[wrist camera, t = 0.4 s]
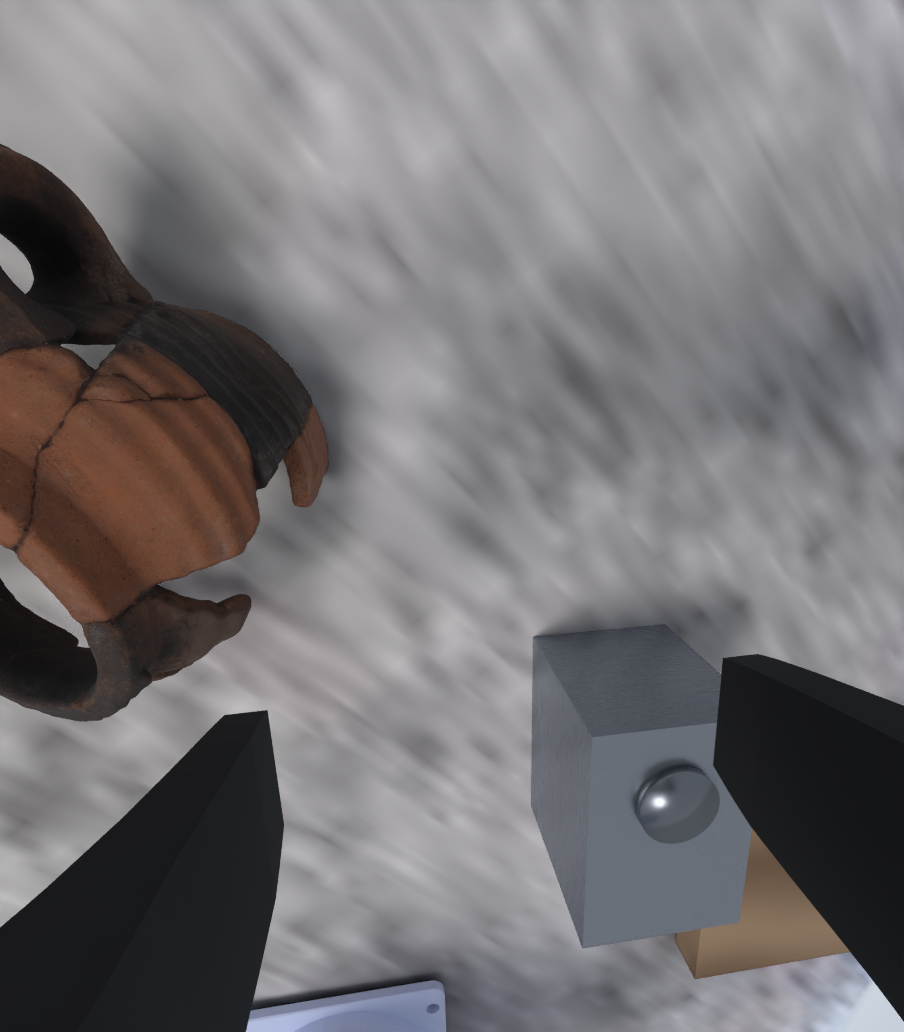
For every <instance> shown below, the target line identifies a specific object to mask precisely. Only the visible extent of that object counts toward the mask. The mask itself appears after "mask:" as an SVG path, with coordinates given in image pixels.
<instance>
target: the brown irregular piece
mask: <svg viewBox="0 0 904 1032" xmlns="http://www.w3.org/2000/svg"><path fill="white" fill-rule="evenodd" d="M0 234H2V235H3V236H4V237H5V238H7V239H8V240H9V241H10V242H12V243H13V244H14V245H15V246H16V247H17V248H18V249H19V250H20V251H21V252H22V253H23V254H24V255H25V257H26V258H27V260H28V261H29V263H30V265H31V269H32V272H33V276H34V282H33V285H32V287H31V289H30V290H29V291H28V292H27V293H26V294H24V293H23V292H22V291H21V290H20V289H19V288H18V287H17V286H16V285H15V284H14V283H13V282H12V281H11V279H10V278H9V277H8V276H7V274H6V273H5V272H4V271H3V269H2V268H1V266H0V545H2V546H4V547H6V548H8V549H11V550H13V551H14V552H15V553H16V554H17V556H18V559H19V560H20V561H21V563H22V564H23V565H24V566H26V567H27V568H28V569H29V570H30V571H31V572H32V573H33V574H34V575H36V576H37V577H38V578H39V579H40V580H41V581H42V582H43V584H44V585H45V586H46V587H47V588H48V589H49V590H50V591H51V592H52V593H53V594H54V595H55V596H56V598H57V599H58V600H59V601H60V602H61V603H62V604H63V605H64V607H65V608H66V609H67V610H68V611H69V613H70V615H71V616H72V617H73V618H74V619H75V620H76V621H77V622H79V623H80V624H81V625H82V628H83V631H84V635H85V637H86V639H87V642H88V645H89V647H90V648H83V647H79V646H77V645H78V641H79V640H78V639H77V638H76V637H75V636H74V635H72V634H71V633H69V632H67V631H66V630H65V629H63V628H60V627H58V626H56V625H54V624H52V623H50V622H49V621H47V620H45V619H43V618H41V617H39V616H38V615H36V614H34V613H33V612H32V611H31V610H29V609H28V608H26V607H24V606H23V605H21V604H20V603H19V602H18V601H17V600H16V599H15V597H14V596H13V594H12V593H11V592H10V591H9V590H8V589H7V588H6V587H5V585H4V583H3V581H2V580H1V579H0V695H1V696H3V697H5V698H7V699H9V700H11V701H13V702H16V703H18V704H20V705H21V706H23V707H26V708H29V709H34V710H38V711H40V712H43V713H45V714H49V715H51V716H54V717H60V718H65V719H71V720H75V721H86V722H87V721H94V720H95V721H99V720H102V719H103V718H106V717H109V716H111V715H113V714H114V713H116V712H117V711H119V710H120V709H122V708H124V707H126V706H127V705H128V703H129V701H130V699H132V698H134V697H136V696H137V695H138V694H139V693H140V691H141V690H142V689H144V688H145V687H147V686H148V685H149V684H151V683H152V681H157V680H161V679H163V678H165V677H168V676H172V675H174V674H176V673H178V672H179V671H180V670H181V669H182V668H185V667H187V666H190V665H192V664H193V663H194V662H195V661H197V660H199V659H200V658H202V657H203V656H204V655H206V654H207V653H208V652H209V651H210V650H211V649H212V648H213V647H214V646H215V645H217V644H219V643H220V642H222V641H224V640H227V639H229V638H231V637H233V636H234V635H236V634H237V633H238V632H239V631H240V630H241V628H242V626H243V624H244V622H245V620H246V617H247V615H248V613H249V611H250V608H251V598H250V597H249V596H248V595H244V594H238V595H235V596H232V597H230V598H227V599H225V600H223V601H221V602H219V603H215V602H213V601H210V600H197V599H193V598H189V597H184V596H181V595H178V594H177V593H175V592H173V591H171V590H167V589H165V588H163V587H161V586H159V585H157V584H159V583H161V582H163V581H167V580H174V579H178V578H182V577H185V576H187V575H188V574H190V573H191V572H194V571H196V570H201V569H205V568H208V567H210V566H213V565H215V564H218V563H220V562H222V561H225V560H228V559H231V558H233V557H235V556H237V555H240V554H241V553H243V552H244V550H245V548H246V545H247V543H248V542H249V541H250V540H251V538H252V537H253V535H254V534H255V531H256V529H257V526H258V524H259V521H260V514H259V508H258V500H257V497H256V491H257V490H258V489H262V488H265V487H266V486H267V484H268V482H269V481H270V479H271V478H272V477H273V475H274V474H275V472H276V470H277V469H278V464H279V463H280V462H281V460H282V459H283V460H284V463H285V465H286V467H287V472H288V476H289V480H290V487H291V492H292V500H293V503H294V505H296V506H298V507H308V506H310V505H311V504H312V503H313V501H314V500H315V498H316V496H317V494H318V491H319V488H320V485H321V483H322V478H323V476H324V474H325V473H326V471H327V468H328V448H327V442H326V438H325V433H324V429H323V426H322V423H321V421H320V418H319V416H318V413H317V411H316V409H315V407H314V405H313V404H312V400H311V397H310V395H309V393H308V392H307V390H306V389H305V387H304V385H303V384H302V382H301V381H300V380H299V379H298V377H297V376H296V374H295V373H294V371H293V369H292V368H291V367H290V365H289V364H288V363H287V362H286V361H285V360H284V359H283V358H281V357H280V356H279V354H277V353H276V352H275V351H274V350H273V349H272V348H271V346H270V345H269V344H267V343H266V342H265V341H264V340H262V339H261V338H260V337H259V336H257V335H256V334H255V333H253V332H252V331H250V330H248V329H247V328H245V327H243V326H241V325H238V324H236V323H233V322H232V321H230V320H227V319H225V318H223V317H220V316H217V315H215V314H212V313H209V312H206V311H202V310H190V309H187V308H183V307H179V306H175V305H167V304H165V303H163V302H159V301H153V299H152V296H151V294H150V293H149V292H148V291H147V290H146V289H145V288H144V287H142V286H141V285H140V284H139V283H138V282H137V281H136V280H135V279H134V277H133V276H132V275H131V274H130V273H129V271H128V270H127V268H126V267H125V265H124V264H123V263H122V261H121V259H120V257H119V256H118V254H117V253H116V251H115V250H114V248H113V247H112V245H111V243H110V242H109V240H108V238H107V236H106V235H105V233H104V231H103V229H102V228H101V227H100V225H99V224H98V222H97V221H96V220H95V218H94V217H93V215H92V214H91V213H90V211H89V210H88V209H87V208H86V206H85V205H84V204H83V203H82V201H81V200H80V199H79V198H78V196H77V195H76V194H75V193H74V192H73V191H72V190H71V189H70V188H69V187H68V186H67V185H65V184H64V183H63V182H62V181H61V180H60V179H59V178H58V177H56V176H55V175H54V174H53V173H52V172H50V171H49V170H48V169H46V168H45V167H44V166H42V165H41V164H39V163H37V162H36V161H34V160H32V159H30V158H28V157H26V156H24V155H22V154H19V153H17V152H15V151H13V150H11V149H10V148H9V147H6V146H4V145H1V144H0ZM61 344H78V345H110V344H116V346H115V348H114V349H113V351H111V352H110V353H109V355H108V356H107V357H106V359H104V360H103V361H102V362H101V363H100V365H99V367H98V369H96V370H94V369H93V368H91V367H90V366H88V365H87V363H86V362H85V361H84V360H83V359H82V358H80V357H79V356H78V355H77V354H75V353H74V352H73V351H71V350H69V349H66V348H63V347H62V346H60V345H61Z"/></svg>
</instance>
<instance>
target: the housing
mask: <svg viewBox="0 0 904 1032" xmlns="http://www.w3.org/2000/svg"><path fill="white" fill-rule="evenodd" d="M720 685H721V674H720V673H719V672H718V671H716V670H715V669H714V668H713V667H712V666H711V665H710V664H709V663H708V662H706V661H705V660H704V659H703V658H702V657H701V656H700V655H699V654H697V653H696V652H695V651H694V650H693V649H692V648H691V647H690V646H689V645H687V644H686V643H685V642H684V641H683V640H682V639H681V638H680V637H679V636H677V635H676V634H675V633H674V632H673V631H672V630H671V629H670V628H668V627H667V626H666V625H656V626H645V627H634V628H623V629H613V630H602V631H591V632H580V633H570V634H559V635H548V636H537V637H533V684H532V773H531V807H532V810H533V812H534V815H535V818H536V821H537V823H538V826H539V829H540V832H541V835H542V837H543V840H544V843H545V846H546V848H547V851H548V854H549V857H550V860H551V862H552V865H553V868H554V871H555V873H556V876H557V879H558V882H559V884H560V887H561V890H562V893H563V896H564V898H565V901H566V904H567V907H568V909H569V912H570V915H571V918H572V921H573V923H574V926H575V929H576V932H577V934H578V937H579V940H580V943H581V945H582V948H588V947H594V946H600V945H606V944H612V943H618V942H624V941H630V940H637V939H643V938H649V937H655V936H661V935H667V934H673V933H679V932H685V931H691V930H697V929H703V928H709V927H715V926H721V925H727V924H733V923H739V919H740V912H741V905H742V898H743V890H744V883H745V876H746V869H747V862H748V855H749V848H750V841H751V833H752V828H751V826H750V825H749V823H748V822H747V820H746V819H745V817H744V816H743V814H742V812H741V811H740V809H739V808H738V806H737V805H736V803H735V802H734V800H733V798H732V797H731V795H730V793H729V792H728V790H727V788H726V787H725V785H724V783H723V782H722V780H721V778H720V777H719V775H718V773H717V771H716V770H715V768H714V766H713V759H714V748H715V738H716V727H717V717H718V706H719V695H720Z"/></svg>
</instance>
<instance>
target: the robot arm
mask: <svg viewBox="0 0 904 1032" xmlns="http://www.w3.org/2000/svg"><path fill="white" fill-rule="evenodd" d="M713 766H714V768H715V770H716V771H717V773H718V775H719V777H720V778H721V780H722V782H723V783H724V785H725V787H726V788H727V790H728V792H729V793H730V795H731V797H732V798H733V800H734V802H735V803H736V805H737V806H738V808H739V809H740V811H741V812H742V814H743V816H744V817H745V819H746V820H747V822H748V823H749V825H750V826H751V828H752V829H753V830H754V831H755V833H756V834H757V835H758V837H759V838H760V839H761V841H762V842H763V843H764V844H765V846H766V847H767V848H768V850H769V851H770V852H771V853H772V855H773V856H774V857H775V858H776V860H777V861H778V862H779V863H780V865H781V866H782V867H783V869H784V870H785V871H786V872H787V874H788V875H789V876H790V877H791V879H792V880H793V881H794V882H795V884H796V885H797V886H798V887H799V889H800V890H801V891H802V892H803V894H804V895H805V896H806V897H807V899H808V900H809V901H810V902H811V904H812V905H813V906H814V907H815V909H816V910H817V911H818V912H819V914H820V915H821V916H822V917H823V919H824V920H825V921H826V922H827V923H828V925H829V926H830V927H831V928H832V930H833V931H834V932H835V933H836V935H837V936H838V937H839V938H840V940H841V941H842V942H843V943H844V945H845V946H846V947H847V948H848V950H849V951H850V952H851V953H852V955H853V956H854V957H855V958H856V960H857V961H858V962H859V963H860V965H861V966H862V967H863V968H864V970H865V971H866V972H867V973H868V975H869V976H870V977H871V978H872V980H873V981H874V982H875V984H876V985H877V986H878V988H879V989H880V990H881V992H882V993H883V994H884V996H885V997H886V998H887V1000H888V1001H889V1002H890V1004H891V1005H892V1006H893V1007H894V1009H895V1010H896V1012H897V1013H898V1014H899V1016H900V1017H901V1018H902V1020H903V1021H904V706H903V705H900V704H898V703H895V702H892V701H890V700H887V699H884V698H882V697H879V696H876V695H874V694H871V693H869V692H866V691H863V690H861V689H858V688H855V687H853V686H850V685H847V684H845V683H842V682H839V681H837V680H834V679H831V678H829V677H826V676H823V675H821V674H818V673H815V672H812V671H810V670H807V669H804V668H801V667H798V666H796V665H793V664H790V663H787V662H784V661H780V660H777V659H774V658H770V657H767V656H763V655H759V654H755V655H746V656H737V657H728V658H723V663H722V674H721V685H720V695H719V706H718V717H717V727H716V738H715V748H714V759H713ZM283 830H284V822H283V815H282V808H281V801H280V794H279V787H278V780H277V773H276V767H275V760H274V753H273V746H272V739H271V732H270V725H269V718H268V711H267V710H266V711H257V712H248V713H239V714H231V715H224V716H223V717H222V718H221V719H220V720H219V721H218V722H217V723H216V724H215V725H214V726H213V727H212V728H211V729H210V730H209V731H208V732H207V733H206V734H205V735H204V736H203V737H202V738H201V739H200V740H199V741H198V742H197V743H196V744H195V745H194V746H193V747H192V748H191V749H190V751H189V752H188V753H187V754H186V755H185V756H184V757H183V758H182V759H181V760H180V761H179V762H178V763H177V764H176V765H175V766H174V767H173V768H172V769H171V770H170V771H169V772H168V773H167V774H166V775H165V776H164V777H163V778H162V779H161V780H160V781H159V782H158V783H157V784H156V785H155V786H154V787H153V788H152V789H151V790H150V791H149V792H148V793H147V794H146V795H145V796H144V797H143V798H142V799H141V800H140V801H139V802H138V803H137V804H136V805H135V806H134V807H133V808H132V809H131V810H130V811H129V812H128V813H127V814H126V815H125V816H124V817H123V818H122V819H121V820H120V821H119V822H118V823H117V824H115V825H114V826H113V827H112V828H111V829H110V830H109V831H108V832H107V833H106V834H105V835H103V836H102V837H101V838H100V839H99V840H98V841H97V842H96V843H95V844H94V845H93V846H92V847H90V848H89V849H88V850H87V851H86V852H85V853H84V854H83V855H82V856H81V857H80V858H79V859H77V860H76V861H75V862H74V863H73V864H72V865H71V866H70V867H69V868H68V869H67V870H66V871H64V872H63V873H62V874H61V875H60V876H59V877H58V878H57V879H56V880H55V881H54V882H52V883H51V884H50V885H49V886H48V887H47V888H46V889H45V890H44V891H42V892H41V893H40V894H39V895H38V896H37V897H35V898H34V899H33V900H32V901H31V902H30V903H29V904H27V905H26V906H25V907H24V908H23V909H22V910H20V911H19V912H18V913H17V914H16V915H14V916H13V917H12V918H11V919H10V920H9V921H7V922H6V923H5V924H4V925H3V926H1V927H0V1032H446V1013H445V994H444V987H443V984H441V983H440V982H439V981H436V980H430V981H424V982H418V983H412V984H406V985H400V986H395V987H389V988H383V989H377V990H371V991H365V992H359V993H353V994H347V995H341V996H335V997H329V998H323V999H317V1000H311V1001H305V1002H299V1003H293V1004H287V1005H281V1006H275V1007H269V1008H263V1009H257V1010H251V1007H252V1003H253V999H254V994H255V990H256V985H257V981H258V977H259V972H260V968H261V963H262V959H263V954H264V950H265V945H266V941H267V936H268V932H269V927H270V923H271V918H272V913H273V909H274V904H275V899H276V892H277V884H278V875H279V867H280V858H281V849H282V839H283Z"/></svg>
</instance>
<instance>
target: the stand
mask: <svg viewBox="0 0 904 1032" xmlns="http://www.w3.org/2000/svg"><path fill="white" fill-rule="evenodd" d="M676 944H677V946H678V948H679V950H680V952H681V954H682V955H683V957H684V959H685V961H686V963H687V965H688V967H689V969H690V971H691V973H692V975H693V976H694V978H695V979H699V978H704V977H710V976H716V975H721V974H727V973H733V972H738V971H744V970H750V969H755V968H761V967H767V966H772V965H778V964H784V963H789V962H795V961H801V960H806V959H812V958H818V957H823V956H829V955H834V954H840V953H846V952H850V951H849V950H848V948H847V947H846V946H845V945H844V943H843V942H842V941H841V940H840V938H839V937H838V936H837V935H836V933H835V932H834V931H833V930H832V928H831V927H830V926H829V925H828V923H827V922H826V921H825V920H824V919H823V917H822V916H821V915H820V914H819V912H818V911H817V910H816V909H815V907H814V906H813V905H812V904H811V902H810V901H809V900H808V899H807V897H806V896H805V895H804V894H803V892H802V891H801V890H800V889H799V887H798V886H797V885H796V884H795V882H794V881H793V880H792V879H791V877H790V876H789V875H788V874H787V872H786V871H785V870H784V869H783V867H782V866H781V865H780V863H779V862H778V861H777V860H776V858H775V857H774V856H773V855H772V853H771V852H770V851H769V850H768V848H767V847H766V846H765V844H764V843H763V842H762V841H761V839H760V838H759V837H758V835H757V834H756V833H755V831H754V830H753V829H752V833H751V841H750V848H749V855H748V862H747V869H746V876H745V883H744V890H743V898H742V905H741V912H740V919H739V923H733V924H727V925H721V926H715V927H709V928H703V929H697V930H691V931H685V932H679V933H677V935H676Z"/></svg>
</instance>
